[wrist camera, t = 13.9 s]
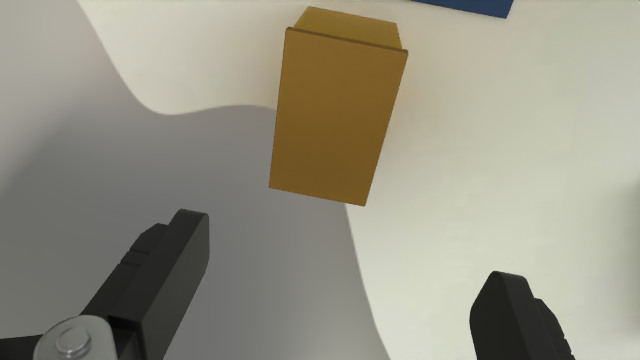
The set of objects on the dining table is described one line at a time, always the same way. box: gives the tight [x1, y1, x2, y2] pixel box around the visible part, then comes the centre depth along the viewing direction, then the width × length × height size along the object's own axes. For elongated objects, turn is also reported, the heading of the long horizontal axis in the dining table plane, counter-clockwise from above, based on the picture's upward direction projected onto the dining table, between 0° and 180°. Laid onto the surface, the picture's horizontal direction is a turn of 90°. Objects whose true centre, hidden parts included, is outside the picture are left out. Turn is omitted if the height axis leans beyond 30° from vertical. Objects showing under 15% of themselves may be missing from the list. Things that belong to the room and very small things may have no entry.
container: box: [269, 7, 408, 206], centre depth 24 cm, size 6×9×7 cm, turn 171°
